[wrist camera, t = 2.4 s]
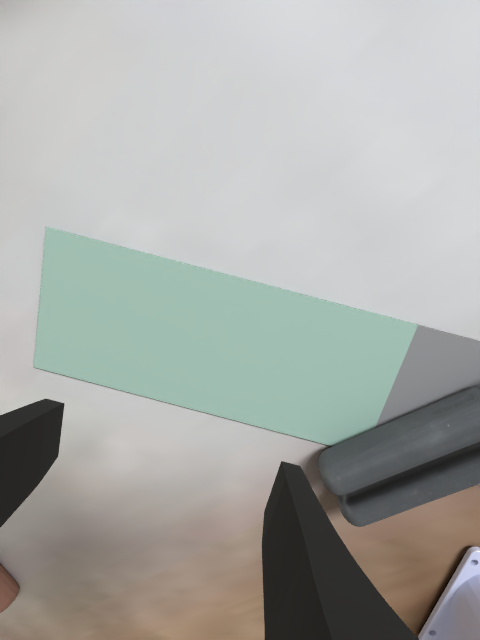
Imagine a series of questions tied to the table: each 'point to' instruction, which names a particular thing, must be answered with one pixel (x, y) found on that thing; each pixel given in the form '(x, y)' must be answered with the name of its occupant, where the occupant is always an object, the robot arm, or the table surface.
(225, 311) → the mat
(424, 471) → the can opener
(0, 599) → the brown handled opener
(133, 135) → the table surface
